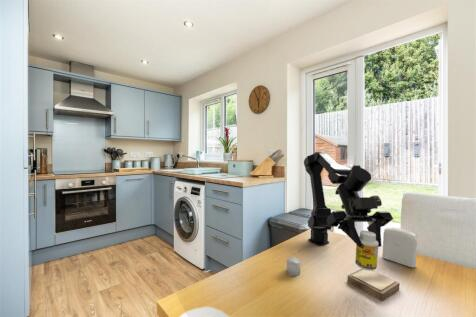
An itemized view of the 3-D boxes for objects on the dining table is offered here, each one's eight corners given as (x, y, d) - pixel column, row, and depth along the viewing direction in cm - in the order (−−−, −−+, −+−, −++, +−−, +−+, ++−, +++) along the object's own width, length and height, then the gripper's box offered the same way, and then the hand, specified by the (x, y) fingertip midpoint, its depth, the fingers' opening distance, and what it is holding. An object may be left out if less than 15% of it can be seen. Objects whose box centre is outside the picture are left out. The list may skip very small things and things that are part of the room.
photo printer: (380, 257, 85) (382, 226, 84) (384, 254, 88) (386, 223, 87) (413, 269, 77) (416, 234, 76) (417, 265, 80) (419, 231, 79)
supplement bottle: (351, 264, 66) (353, 231, 66) (360, 259, 70) (362, 227, 69) (371, 274, 62) (373, 238, 61) (380, 268, 65) (382, 234, 64)
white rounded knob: (283, 272, 73) (284, 260, 73) (290, 267, 76) (291, 256, 76) (296, 278, 70) (296, 265, 70) (302, 272, 73) (303, 260, 73)
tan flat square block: (347, 281, 69) (347, 274, 68) (364, 272, 74) (365, 266, 74) (382, 300, 60) (382, 292, 60) (399, 289, 65) (399, 281, 65)
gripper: (333, 185, 68) (352, 235, 57) (391, 186, 69) (419, 235, 59) (320, 203, 76) (334, 250, 66) (372, 204, 77) (394, 249, 67)
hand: (370, 246), depth 64 cm, fingers closed on supplement bottle, 6 cm apart
